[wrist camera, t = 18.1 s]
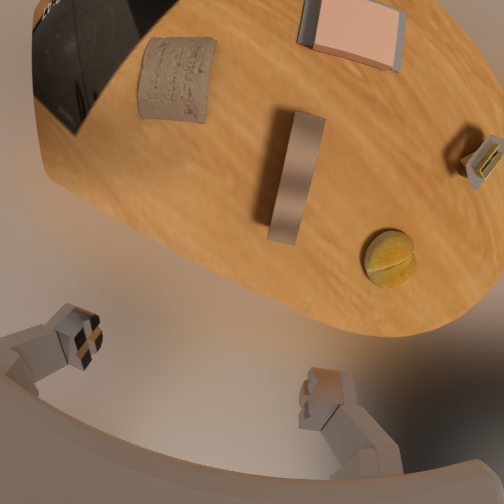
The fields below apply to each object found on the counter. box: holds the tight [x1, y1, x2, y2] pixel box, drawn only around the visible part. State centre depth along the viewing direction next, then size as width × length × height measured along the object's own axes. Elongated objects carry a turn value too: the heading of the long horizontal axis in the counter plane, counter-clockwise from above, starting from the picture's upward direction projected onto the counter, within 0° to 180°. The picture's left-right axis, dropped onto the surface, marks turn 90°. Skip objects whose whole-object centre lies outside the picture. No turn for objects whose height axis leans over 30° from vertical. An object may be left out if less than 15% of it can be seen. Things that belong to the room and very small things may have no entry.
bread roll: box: [364, 231, 416, 289], centre depth 39 cm, size 8×9×4 cm
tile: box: [312, 0, 399, 71], centre depth 26 cm, size 3×10×9 cm
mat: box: [298, 0, 406, 73], centre depth 27 cm, size 10×14×1 cm
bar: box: [267, 112, 326, 246], centre depth 35 cm, size 16×4×5 cm, turn 169°
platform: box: [459, 135, 504, 190], centre depth 29 cm, size 12×18×7 cm, turn 141°
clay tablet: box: [137, 37, 217, 124], centre depth 32 cm, size 14×10×3 cm
